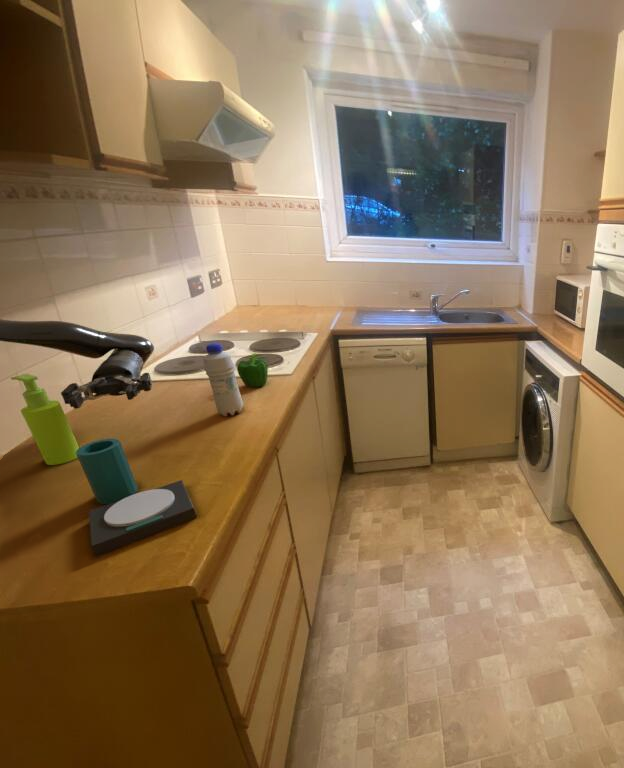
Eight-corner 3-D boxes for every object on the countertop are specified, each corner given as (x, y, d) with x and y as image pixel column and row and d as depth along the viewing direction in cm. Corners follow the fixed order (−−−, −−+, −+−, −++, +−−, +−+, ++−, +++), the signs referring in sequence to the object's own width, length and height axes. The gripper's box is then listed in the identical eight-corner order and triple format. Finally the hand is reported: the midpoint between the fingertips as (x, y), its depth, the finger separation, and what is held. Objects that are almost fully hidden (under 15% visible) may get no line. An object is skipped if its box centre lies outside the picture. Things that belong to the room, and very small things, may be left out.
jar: (98, 508, 83) (76, 459, 78) (96, 493, 87) (75, 446, 82) (139, 494, 86) (120, 447, 82) (136, 481, 91) (118, 435, 86)
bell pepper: (249, 392, 133) (241, 361, 130) (237, 385, 138) (229, 356, 134) (276, 383, 140) (270, 354, 136) (264, 378, 144) (257, 349, 140)
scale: (96, 556, 71) (90, 543, 70) (92, 520, 79) (87, 508, 78) (197, 517, 80) (192, 505, 79) (184, 488, 88) (180, 477, 87)
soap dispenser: (68, 448, 102) (32, 369, 95) (87, 453, 100) (53, 373, 93) (36, 461, 97) (-4, 379, 89) (56, 467, 95) (17, 383, 87)
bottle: (211, 417, 118) (191, 346, 110) (229, 406, 124) (211, 339, 116) (234, 418, 117) (215, 348, 109) (251, 408, 123) (234, 340, 115)
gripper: (160, 383, 107) (151, 408, 94) (84, 395, 100) (62, 424, 87) (151, 354, 104) (139, 376, 91) (71, 364, 97) (47, 390, 84)
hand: (102, 399), depth 89 cm, fingers open, 8 cm apart
